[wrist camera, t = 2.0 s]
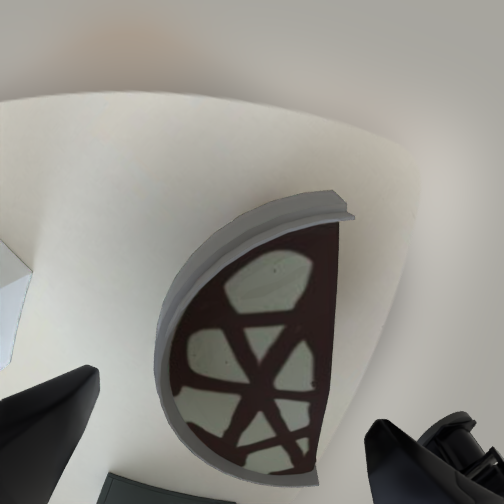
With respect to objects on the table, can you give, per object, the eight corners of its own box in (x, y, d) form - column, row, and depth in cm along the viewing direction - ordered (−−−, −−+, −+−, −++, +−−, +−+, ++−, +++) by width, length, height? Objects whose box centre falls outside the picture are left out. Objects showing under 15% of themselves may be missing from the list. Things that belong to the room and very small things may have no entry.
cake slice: (184, 188, 16) (104, 205, 7) (293, 184, 17) (355, 193, 7) (203, 373, 19) (179, 493, 10) (292, 370, 20) (317, 491, 10)
